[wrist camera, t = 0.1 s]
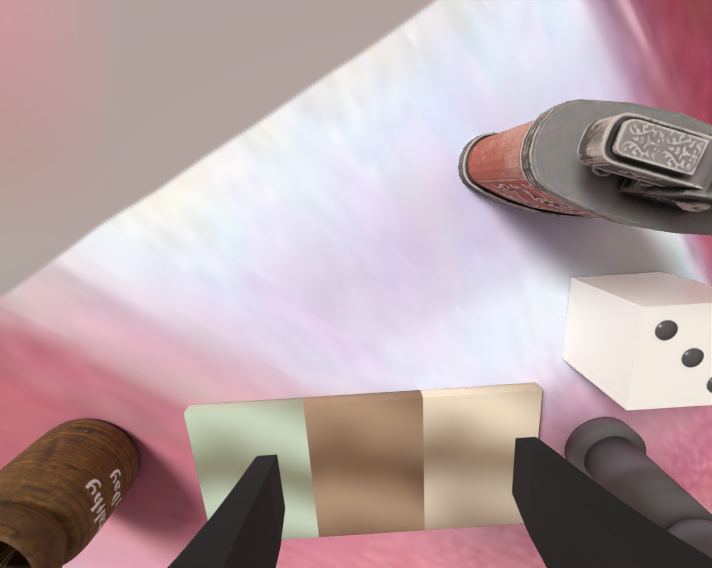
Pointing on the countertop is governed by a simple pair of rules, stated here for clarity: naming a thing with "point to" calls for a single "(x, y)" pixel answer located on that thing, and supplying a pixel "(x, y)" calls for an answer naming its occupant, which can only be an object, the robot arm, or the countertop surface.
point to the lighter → (600, 166)
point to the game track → (374, 456)
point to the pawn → (638, 479)
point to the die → (642, 338)
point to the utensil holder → (62, 492)
